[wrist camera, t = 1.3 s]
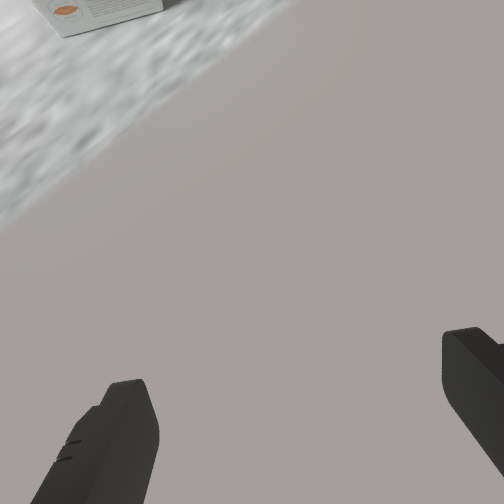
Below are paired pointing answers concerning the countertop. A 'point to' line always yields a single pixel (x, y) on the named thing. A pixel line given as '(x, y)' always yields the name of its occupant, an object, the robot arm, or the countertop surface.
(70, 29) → the small box
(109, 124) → the countertop surface
